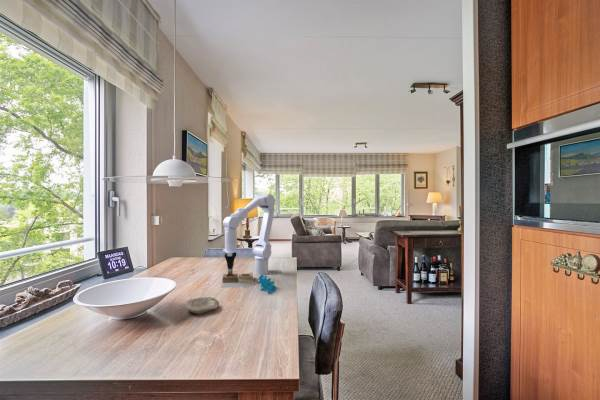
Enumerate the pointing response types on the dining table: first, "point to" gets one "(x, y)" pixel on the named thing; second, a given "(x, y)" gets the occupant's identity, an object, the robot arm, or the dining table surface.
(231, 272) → the pin
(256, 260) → the robot arm
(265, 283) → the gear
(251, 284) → the board
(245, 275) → the block birch
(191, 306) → the fossil
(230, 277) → the block walnut
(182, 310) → the dining table surface
